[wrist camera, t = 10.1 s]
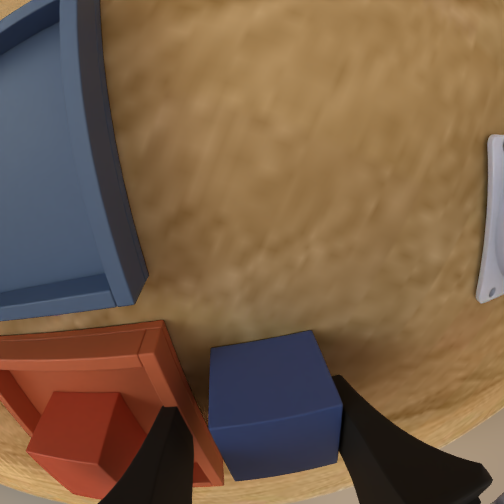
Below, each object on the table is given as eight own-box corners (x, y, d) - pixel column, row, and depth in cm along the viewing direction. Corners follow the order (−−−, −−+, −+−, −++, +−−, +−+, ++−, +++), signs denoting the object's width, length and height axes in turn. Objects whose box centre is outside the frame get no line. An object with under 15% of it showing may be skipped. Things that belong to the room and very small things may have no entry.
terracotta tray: (163, 319, 11) (154, 353, 9) (223, 457, 14) (224, 486, 13) (-10, 336, 11) (-29, 358, 9) (77, 455, 14) (70, 477, 12)
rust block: (119, 391, 11) (98, 464, 8) (151, 441, 13) (142, 505, 9) (52, 391, 11) (24, 451, 8) (89, 438, 13) (73, 494, 9)
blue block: (311, 329, 11) (343, 404, 8) (315, 394, 13) (337, 463, 9) (210, 347, 11) (207, 429, 8) (230, 410, 13) (234, 481, 9)
